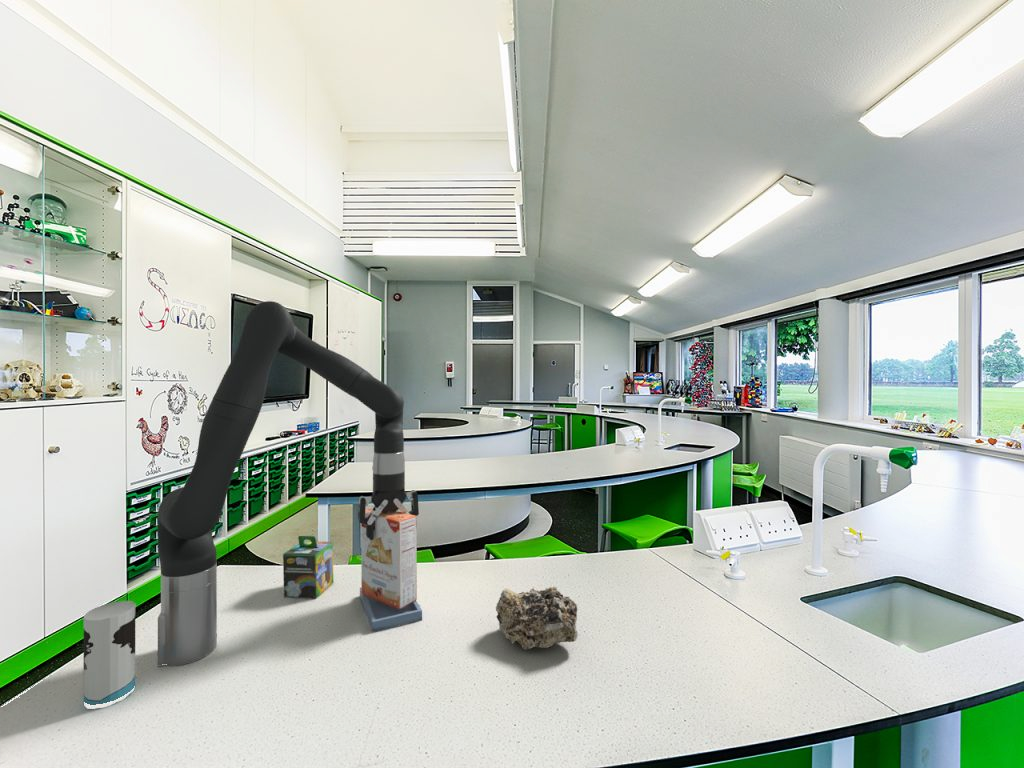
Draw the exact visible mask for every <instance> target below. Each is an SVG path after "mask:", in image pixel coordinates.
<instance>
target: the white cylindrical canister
mask: <svg viewBox="0 0 1024 768" xmlns="http://www.w3.org/2000/svg"><path fill="white" fill-rule="evenodd" d="M134 686H135V687H136V603H135V601H132V600H119V601H113V602H110V603H107V604H103V605H100V606H97V607H95V608H93V609H91V610H89V611H88V612H86V613H85V614H84V615H83V703H84V702H85V703H87V704H90V705H96V704H103V703H107V702H110V701H114V700H116V699H118V698H120V697H122V696H124V695H125V694H127V693H128V692H130V691H131V690H132V689H133V688H134Z"/></svg>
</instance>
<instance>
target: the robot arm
mask: <svg viewBox="0 0 1024 768" xmlns="http://www.w3.org/2000/svg"><path fill="white" fill-rule="evenodd" d="M277 353H279V354H281V355H283V356H285V357H287V358H290V359H291V360H294V361H295V362H297V363H299V364H300V365H302V366H304V367H306V368H307V369H309V370H311V371H313V372H314V373H315V374H317V375H319V376H320V377H321V378H323V380H325V381H327V382H329V383H330V384H332V385H333V386H334V387H336V388H338V389H339V390H341V391H342V392H344V393H346V394H347V395H349V396H350V397H352V398H354V399H357V401H359V402H360V403H361V404H363V405H364V406H366V407H367V408H368V409H370V410H371V411H372V412H373V413H374V416H375V417H374V420H375V429H374V436H373V459H372V494H371V495H370V496H363V495H360V496H359V497H358V510H357V520H358V522H359V523H360V524H361V523H364V524H366V536H367V538H369V539H370V540H373V524H372V523H373V522H374V520H375V519H376V518H377V517H378V516H379V514H380V513H381V512H382V513H387V512H396V511H399V512H402V513H407V514H411V515H415V516H416V517H417V516H418V515H419V513H420V512H419V509H420V508H419V494H418V492H417V491H415V490H414V489H413V490H411V491H407V492H406V490H405V489H406V488H405V487H406V486H405V485H406V483H405V482H406V481H405V479H406V477H405V475H406V474H405V472H406V471H405V470H406V469H405V468H406V467H405V466H406V465H405V463H406V462H405V461H406V460H405V452H404V451H405V447H404V444H405V443H404V442H405V440H404V437H405V436H404V430H403V422H404V406H405V405H404V404H405V401H404V398H403V395H402V394H401V393H400V391H398V390H397V389H396V388H393V387H391V386H389V385H387V384H386V383H384V382H383V381H381V380H379V379H378V378H376V377H374V376H373V375H372V374H371V373H370V372H369V371H367V370H366V369H365V368H363V367H362V366H361V365H358V364H357V363H356V362H354V361H352V360H351V359H350V358H348V357H346V356H344V355H341V354H340V353H338V352H336V351H334V350H331V349H329V348H326V347H325V346H323V345H321V344H319V343H318V342H316V341H314V340H313V339H312V338H310V337H308V336H307V334H305V333H304V332H303V331H301V329H299V328H298V327H297V326H296V325H295V324H294V320H293V318H292V315H291V313H290V312H289V310H287V308H286V307H285V306H284V305H282V303H279V302H276V301H272V300H266V301H262V302H260V303H257V304H256V305H254V306H253V307H252V308H250V310H249V312H248V314H246V318H245V320H244V325H243V328H242V331H241V334H240V336H239V340H238V344H237V347H236V350H235V352H234V355H233V357H232V360H231V361H230V363H229V365H228V367H227V369H226V371H225V373H224V374H223V377H222V379H221V380H220V382H219V384H218V387H217V389H216V391H215V394H213V397H212V400H211V401H210V403H209V406H208V407H207V408H208V409H207V411H206V412H205V415H204V418H203V421H202V423H201V424H202V425H201V427H200V431H199V437H198V438H199V439H198V445H197V452H196V457H195V461H194V464H193V467H192V470H191V472H190V473H189V476H188V478H187V479H186V482H185V483H184V485H183V486H181V487H179V488H178V487H177V488H176V489H174V490H172V491H171V492H169V493H168V494H167V495H165V497H164V498H163V499H162V501H160V504H159V506H158V511H157V554H158V559H159V563H160V613H159V614H158V615H157V666H158V665H162V664H167V665H166V666H169V665H177V666H184V665H187V663H188V664H190V663H193V661H194V662H196V661H199V660H201V659H203V658H205V657H207V656H208V655H210V654H211V653H212V652H213V651H214V650H215V649H216V648H217V644H218V643H217V640H218V639H217V638H218V633H217V632H218V631H217V629H218V622H217V621H218V620H217V619H218V614H217V613H218V610H217V609H218V608H217V607H218V604H217V603H218V598H217V597H218V593H217V592H218V590H217V589H218V587H217V586H218V581H217V580H218V575H217V571H218V570H217V569H218V566H217V562H218V561H217V559H218V557H217V556H218V553H217V548H216V546H215V542H214V538H213V529H214V527H215V526H216V525H217V523H218V522H219V520H220V519H221V515H222V512H223V509H224V506H225V503H226V499H227V494H228V491H229V488H230V485H231V482H232V478H233V475H234V473H235V470H236V468H237V466H238V464H239V462H240V459H241V457H242V455H243V453H244V451H245V448H246V445H247V444H248V440H249V438H250V436H251V434H252V432H253V429H254V427H255V425H256V423H257V420H258V418H259V415H260V413H261V410H262V407H263V404H264V400H265V397H266V390H267V385H268V380H269V379H268V378H269V374H270V369H271V367H272V363H273V362H274V359H275V357H276V355H277ZM407 498H408V500H409V501H410V508H411V509H410V510H407V508H406V507H405V506H404V505H403V504H404V503H405V501H406V499H407ZM370 502H371V503H372V504H373V507H372V508H371V509H372V510H371V512H370V514H369V515H368V517H365V510H366V507H368V506H369V503H370ZM162 666H163V665H162Z"/></svg>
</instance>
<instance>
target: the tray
mask: <svg viewBox="0 0 1024 768" xmlns="http://www.w3.org/2000/svg"><path fill="white" fill-rule="evenodd" d="M359 598H360V601H361V604H362V606H363V609H364V612H365V615H366V619H367V621H368V624H369V626H370V629H371V632H372V633H375V632H378V631H383V630H388V629H390V628H392V629H393V628H395V627H400V626H403V625H407V624H412V623H415V622H419V621H420V622H421V621H423V610H422V608H421V607H420V605H419V603H418V601H417V600H416V601H414V602H412V603H410V604H409V605H407V606H405V607H403V608H401V609H400V610H399V609H397V608H394V607H392V606H390V605H387V604H385V603H383V602H380V601H378V600H376V599H373V598H371V597H369V596H366V595H364V594H362V586H361V587H359Z"/></svg>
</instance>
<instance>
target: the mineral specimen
mask: <svg viewBox="0 0 1024 768" xmlns="http://www.w3.org/2000/svg"><path fill="white" fill-rule="evenodd" d="M495 611H496V612H497V615H496V619H497V621H498V625H499V630H501V633H504V635H505V638H506V639H507V640H509V641H510V643H512V644H514V643H515V642H517V643H519V644H520V645H521V647H522V649H524V650H531V649H532V648H534V647H536V648H550V647H552V646H553V645H554V644H555V643H557V644H560V643H571V642H572V643H574V642H575V641H577V639H578V636H579V635H578V634H579V633H578V630H577V620H578V614H577V613H578V605H577V603H575V601H574V600H572V598H570V597H569V596H564V595H563V594H562V593H561V592H560V591H559V590H558V589H557V587H556V586H549V587H547V588H545V589H544V590H543V589H542V590H537V589H536V590H535V588H531V589H530V590H529V591H526V592H524V591H522V592H520V593H516V592H514V591H512V590H510V589H508V588H504V589H503V590H502V591H501V593H500V597H499V599H498V602H497V603H496V606H495Z"/></svg>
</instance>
